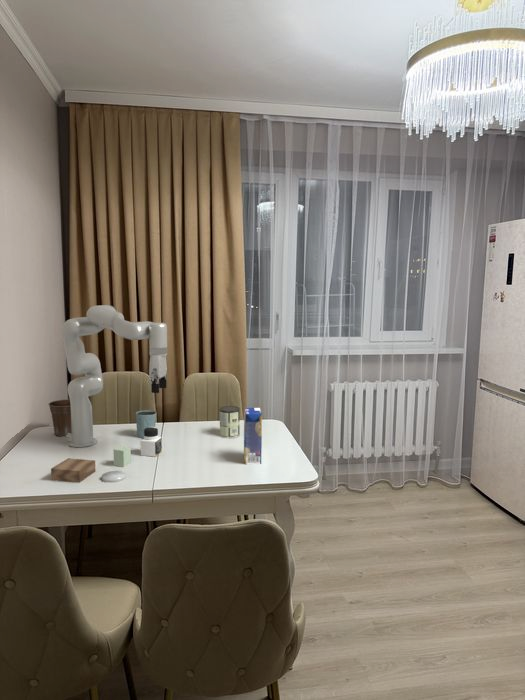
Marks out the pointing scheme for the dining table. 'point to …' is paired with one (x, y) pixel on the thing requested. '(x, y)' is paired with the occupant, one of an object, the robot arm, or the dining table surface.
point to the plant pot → (61, 416)
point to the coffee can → (229, 421)
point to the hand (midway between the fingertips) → (159, 390)
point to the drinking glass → (144, 421)
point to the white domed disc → (113, 476)
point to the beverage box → (252, 435)
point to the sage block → (122, 456)
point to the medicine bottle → (151, 442)
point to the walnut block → (73, 470)
